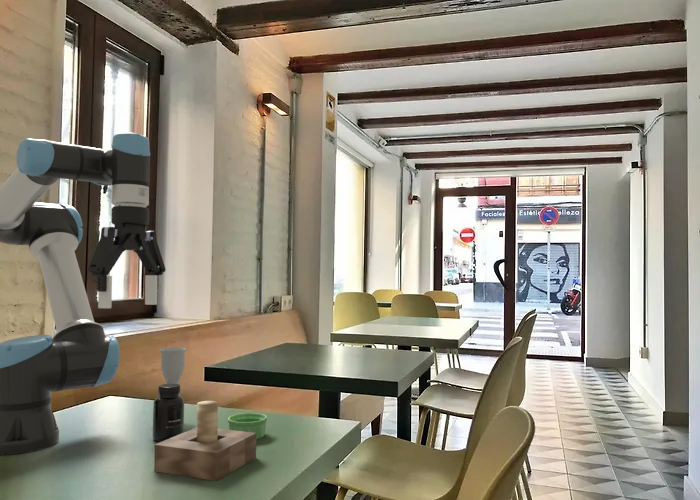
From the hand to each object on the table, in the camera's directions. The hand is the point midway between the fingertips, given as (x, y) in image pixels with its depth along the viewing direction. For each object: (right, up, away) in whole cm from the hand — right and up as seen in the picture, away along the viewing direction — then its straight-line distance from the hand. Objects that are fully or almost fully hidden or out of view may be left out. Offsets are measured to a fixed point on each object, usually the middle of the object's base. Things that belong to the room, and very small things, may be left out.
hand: (129, 306), depth 123 cm
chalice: (+1, -32, +26) cm, 41 cm away
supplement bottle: (+5, -31, +10) cm, 33 cm away
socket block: (+19, -30, -8) cm, 37 cm away
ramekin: (+23, -31, +11) cm, 41 cm away
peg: (+19, -30, -8) cm, 37 cm away
